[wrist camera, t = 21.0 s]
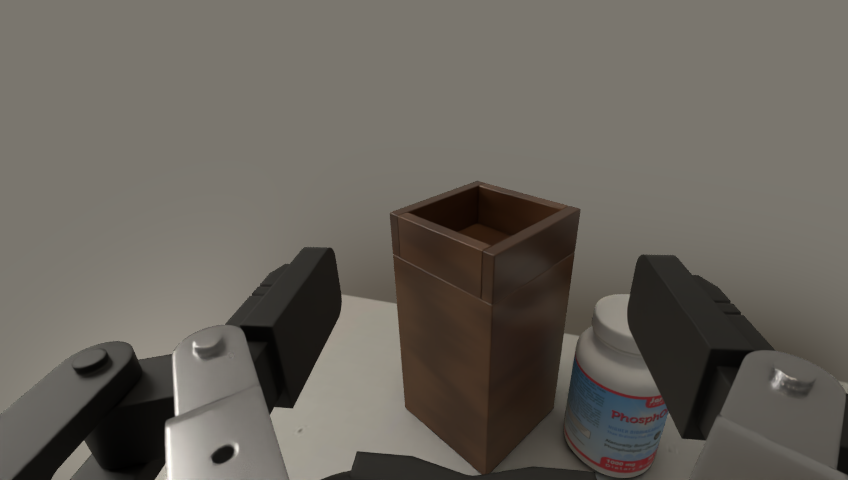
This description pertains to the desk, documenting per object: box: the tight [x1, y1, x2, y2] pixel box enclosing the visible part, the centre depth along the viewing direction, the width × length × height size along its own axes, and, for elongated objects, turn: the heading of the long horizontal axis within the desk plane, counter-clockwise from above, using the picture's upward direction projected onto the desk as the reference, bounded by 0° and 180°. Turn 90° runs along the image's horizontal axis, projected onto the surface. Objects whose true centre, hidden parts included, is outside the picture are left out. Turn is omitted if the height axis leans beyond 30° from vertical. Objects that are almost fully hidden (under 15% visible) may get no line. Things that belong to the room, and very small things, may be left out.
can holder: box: [390, 181, 580, 475], centre depth 30 cm, size 8×8×17 cm
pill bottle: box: [564, 294, 668, 478], centre depth 28 cm, size 6×6×11 cm
